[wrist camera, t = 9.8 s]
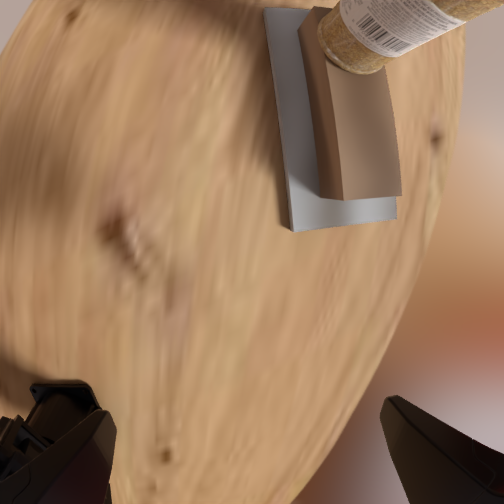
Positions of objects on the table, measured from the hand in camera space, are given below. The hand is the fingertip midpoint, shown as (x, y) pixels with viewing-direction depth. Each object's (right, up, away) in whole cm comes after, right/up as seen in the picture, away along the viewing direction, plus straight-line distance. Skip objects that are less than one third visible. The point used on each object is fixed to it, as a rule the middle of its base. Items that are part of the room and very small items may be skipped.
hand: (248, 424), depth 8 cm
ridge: (+6, +15, +11) cm, 19 cm away
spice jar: (+6, +17, +6) cm, 19 cm away
